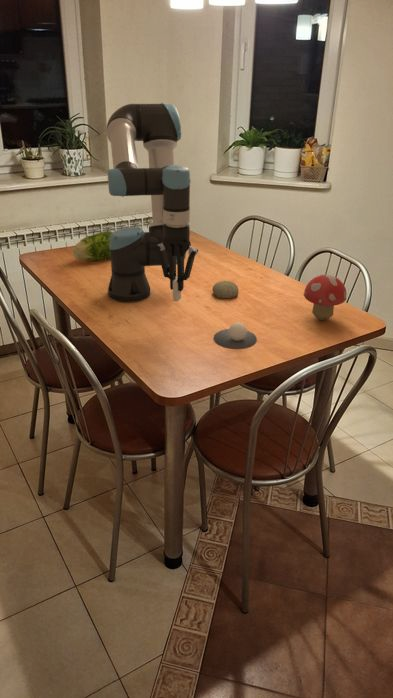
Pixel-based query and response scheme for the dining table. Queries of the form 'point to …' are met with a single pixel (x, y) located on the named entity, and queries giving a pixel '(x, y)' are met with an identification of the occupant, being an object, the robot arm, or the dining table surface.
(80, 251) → the lettuce
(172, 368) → the dining table surface
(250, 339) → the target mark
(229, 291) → the sea urchin shell
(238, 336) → the ball
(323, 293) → the decorative mushroom
